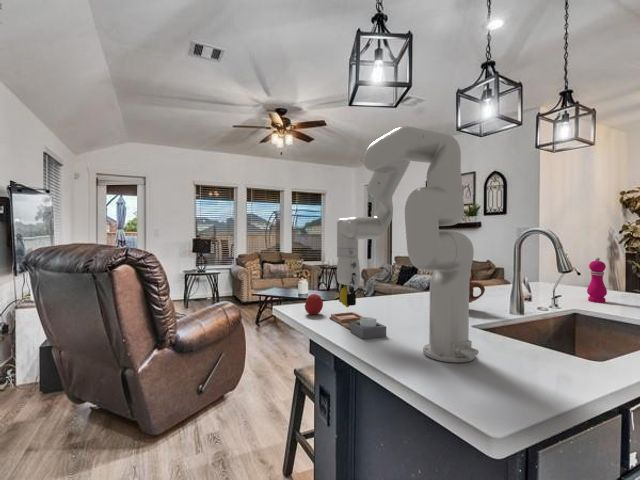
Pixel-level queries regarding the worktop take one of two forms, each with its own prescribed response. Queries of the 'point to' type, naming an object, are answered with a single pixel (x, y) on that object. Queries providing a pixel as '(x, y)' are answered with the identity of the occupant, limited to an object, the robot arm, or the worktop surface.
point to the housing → (368, 331)
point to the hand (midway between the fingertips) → (347, 303)
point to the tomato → (313, 304)
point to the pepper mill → (597, 282)
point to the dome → (367, 322)
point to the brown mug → (471, 286)
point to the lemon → (344, 295)
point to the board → (346, 319)
